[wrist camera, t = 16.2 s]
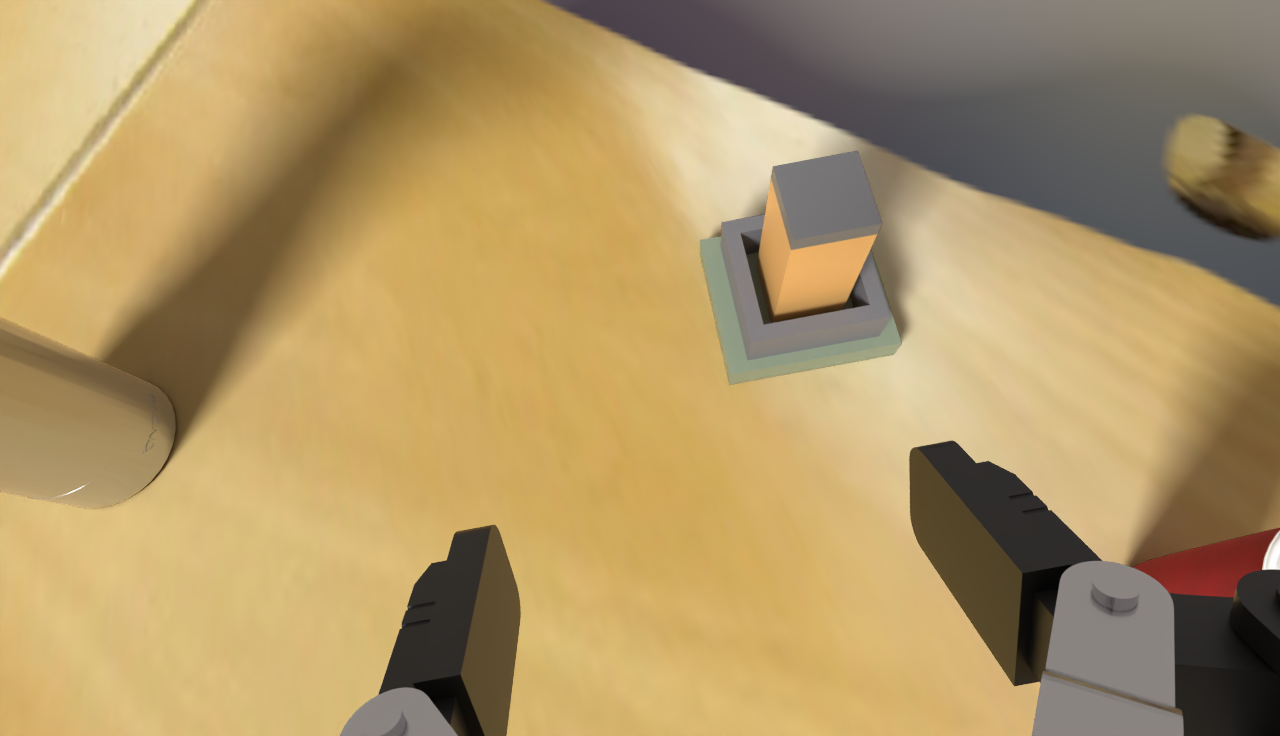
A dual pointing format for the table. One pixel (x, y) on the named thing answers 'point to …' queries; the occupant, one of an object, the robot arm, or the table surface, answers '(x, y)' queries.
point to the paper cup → (1215, 565)
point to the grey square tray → (791, 343)
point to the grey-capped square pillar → (815, 235)
